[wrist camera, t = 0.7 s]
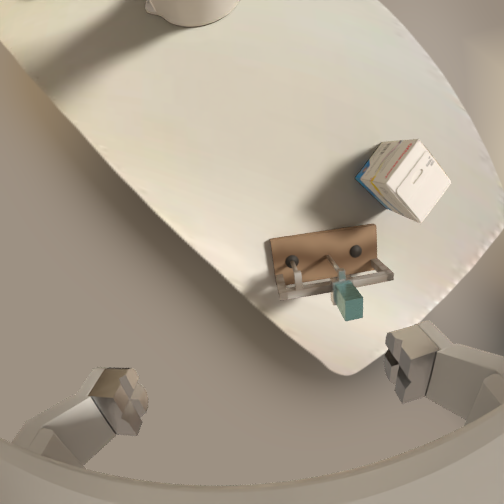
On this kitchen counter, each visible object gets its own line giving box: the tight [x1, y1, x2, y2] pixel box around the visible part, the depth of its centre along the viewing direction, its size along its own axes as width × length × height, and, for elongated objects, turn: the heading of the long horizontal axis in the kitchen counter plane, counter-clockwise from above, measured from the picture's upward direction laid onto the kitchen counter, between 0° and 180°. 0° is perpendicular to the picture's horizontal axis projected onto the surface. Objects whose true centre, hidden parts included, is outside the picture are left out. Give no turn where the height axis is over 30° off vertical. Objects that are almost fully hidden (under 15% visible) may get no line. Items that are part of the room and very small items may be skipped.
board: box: [270, 224, 394, 300], centre depth 44 cm, size 8×18×8 cm, turn 99°
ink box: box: [355, 139, 451, 223], centre depth 38 cm, size 9×8×12 cm
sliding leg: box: [326, 255, 363, 321], centre depth 41 cm, size 5×3×13 cm, turn 9°
